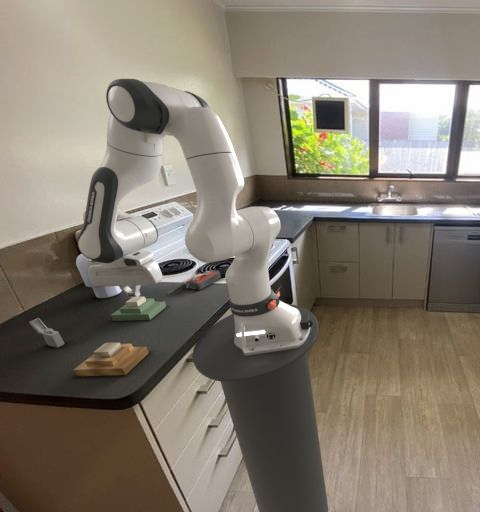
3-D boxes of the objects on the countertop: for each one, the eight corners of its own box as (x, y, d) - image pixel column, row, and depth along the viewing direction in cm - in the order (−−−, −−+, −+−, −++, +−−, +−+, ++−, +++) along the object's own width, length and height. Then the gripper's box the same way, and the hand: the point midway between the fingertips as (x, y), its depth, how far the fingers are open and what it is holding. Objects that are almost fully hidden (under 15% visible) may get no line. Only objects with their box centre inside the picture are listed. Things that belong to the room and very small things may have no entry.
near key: (122, 348, 76) (119, 342, 75) (110, 358, 73) (107, 351, 72) (108, 348, 76) (105, 342, 75) (96, 358, 73) (93, 352, 72)
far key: (146, 301, 98) (144, 296, 97) (138, 307, 95) (136, 301, 94) (135, 301, 98) (133, 296, 97) (127, 307, 95) (125, 302, 94)
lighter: (65, 343, 83) (52, 320, 80) (57, 347, 82) (44, 324, 79) (48, 339, 85) (35, 317, 82) (40, 343, 84) (27, 320, 80)
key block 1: (166, 306, 101) (163, 296, 100) (150, 319, 94) (146, 309, 93) (132, 307, 101) (128, 297, 100) (112, 320, 94) (108, 310, 92)
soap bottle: (97, 303, 104) (69, 240, 94) (86, 296, 108) (58, 235, 99) (132, 291, 112) (109, 232, 102) (120, 285, 116) (97, 228, 107)
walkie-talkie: (208, 274, 125) (164, 297, 108) (205, 265, 124) (161, 286, 106) (224, 276, 123) (183, 300, 105) (222, 267, 121) (179, 289, 104)
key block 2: (148, 353, 80) (144, 341, 78) (125, 375, 72) (120, 362, 71) (104, 354, 79) (99, 342, 78) (76, 376, 72) (70, 363, 70)
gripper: (75, 262, 86) (93, 302, 92) (144, 260, 87) (158, 300, 92) (94, 255, 92) (110, 292, 97) (158, 253, 93) (171, 290, 98)
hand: (134, 296), depth 95 cm, fingers closed
